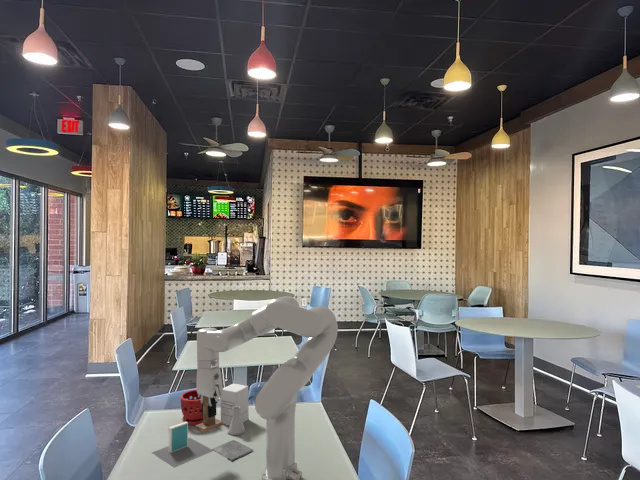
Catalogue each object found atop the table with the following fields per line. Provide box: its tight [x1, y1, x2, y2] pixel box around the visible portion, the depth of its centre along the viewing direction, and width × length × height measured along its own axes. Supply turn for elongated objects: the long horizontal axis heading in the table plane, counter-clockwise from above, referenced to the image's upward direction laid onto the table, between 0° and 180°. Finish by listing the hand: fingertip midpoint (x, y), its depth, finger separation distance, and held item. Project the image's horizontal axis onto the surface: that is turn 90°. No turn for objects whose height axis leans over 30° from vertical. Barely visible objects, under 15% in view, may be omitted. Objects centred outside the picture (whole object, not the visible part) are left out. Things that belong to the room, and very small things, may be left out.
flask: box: [227, 406, 246, 436], centre depth 172 cm, size 7×7×10 cm
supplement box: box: [220, 383, 249, 426], centre depth 182 cm, size 9×9×15 cm
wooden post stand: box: [194, 395, 224, 433], centre depth 148 cm, size 5×8×15 cm, turn 139°
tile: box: [168, 421, 189, 453], centre depth 156 cm, size 2×7×9 cm, turn 139°
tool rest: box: [212, 439, 254, 462], centre depth 156 cm, size 12×10×1 cm
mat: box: [151, 437, 215, 468], centre depth 154 cm, size 16×16×1 cm
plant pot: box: [180, 389, 203, 426], centre depth 183 cm, size 13×13×12 cm
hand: (209, 414), depth 147 cm, fingers closed on wooden post stand, 3 cm apart
